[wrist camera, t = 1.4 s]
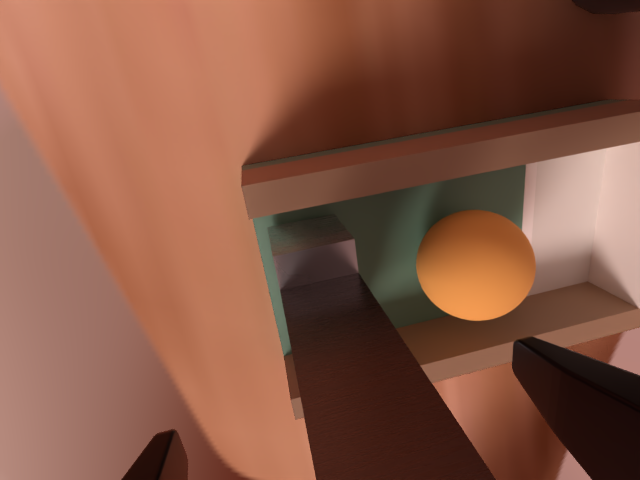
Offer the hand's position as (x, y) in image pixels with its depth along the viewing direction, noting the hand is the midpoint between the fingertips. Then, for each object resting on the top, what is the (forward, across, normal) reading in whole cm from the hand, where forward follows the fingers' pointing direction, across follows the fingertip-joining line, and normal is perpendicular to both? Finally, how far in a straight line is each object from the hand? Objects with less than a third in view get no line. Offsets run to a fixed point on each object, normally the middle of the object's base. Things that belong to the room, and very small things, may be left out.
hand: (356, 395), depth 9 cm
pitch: (+8, -6, 0) cm, 10 cm away
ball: (+4, -6, 0) cm, 7 cm away
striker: (+6, 0, 0) cm, 6 cm away
